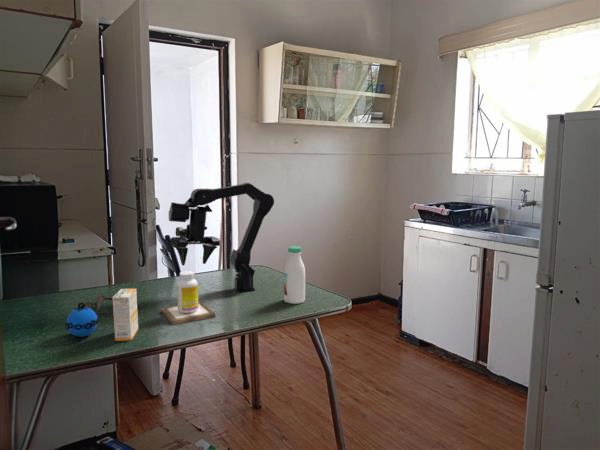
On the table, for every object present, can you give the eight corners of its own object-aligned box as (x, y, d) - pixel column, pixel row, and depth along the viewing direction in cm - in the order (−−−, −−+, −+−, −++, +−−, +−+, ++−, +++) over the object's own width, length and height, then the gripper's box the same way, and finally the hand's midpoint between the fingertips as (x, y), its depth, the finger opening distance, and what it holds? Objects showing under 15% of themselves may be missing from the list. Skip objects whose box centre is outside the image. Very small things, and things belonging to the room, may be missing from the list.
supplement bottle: (202, 310, 155) (201, 272, 153) (186, 315, 150) (185, 276, 148) (190, 305, 159) (189, 269, 157) (173, 310, 154) (172, 273, 152)
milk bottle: (308, 299, 172) (309, 246, 169) (299, 305, 165) (300, 250, 162) (289, 296, 175) (289, 244, 172) (280, 302, 168) (280, 247, 165)
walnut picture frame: (201, 305, 164) (201, 301, 164) (215, 317, 152) (215, 313, 152) (161, 311, 157) (160, 307, 157) (172, 324, 145) (172, 320, 145)
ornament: (74, 344, 130) (71, 309, 129) (62, 335, 136) (59, 302, 134) (104, 335, 136) (102, 302, 135) (91, 328, 142) (89, 296, 141)
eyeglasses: (104, 305, 164) (103, 292, 163) (144, 308, 162) (143, 294, 161) (78, 320, 150) (77, 305, 149) (122, 323, 148) (121, 307, 147)
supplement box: (122, 330, 140) (120, 288, 139) (138, 330, 141) (136, 288, 139) (114, 341, 132) (111, 296, 130) (131, 340, 133) (129, 296, 131)
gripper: (205, 220, 184) (201, 258, 186) (163, 219, 170) (159, 261, 172) (222, 224, 177) (218, 264, 178) (180, 224, 163) (176, 267, 165)
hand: (193, 264), depth 173 cm, fingers open, 9 cm apart
